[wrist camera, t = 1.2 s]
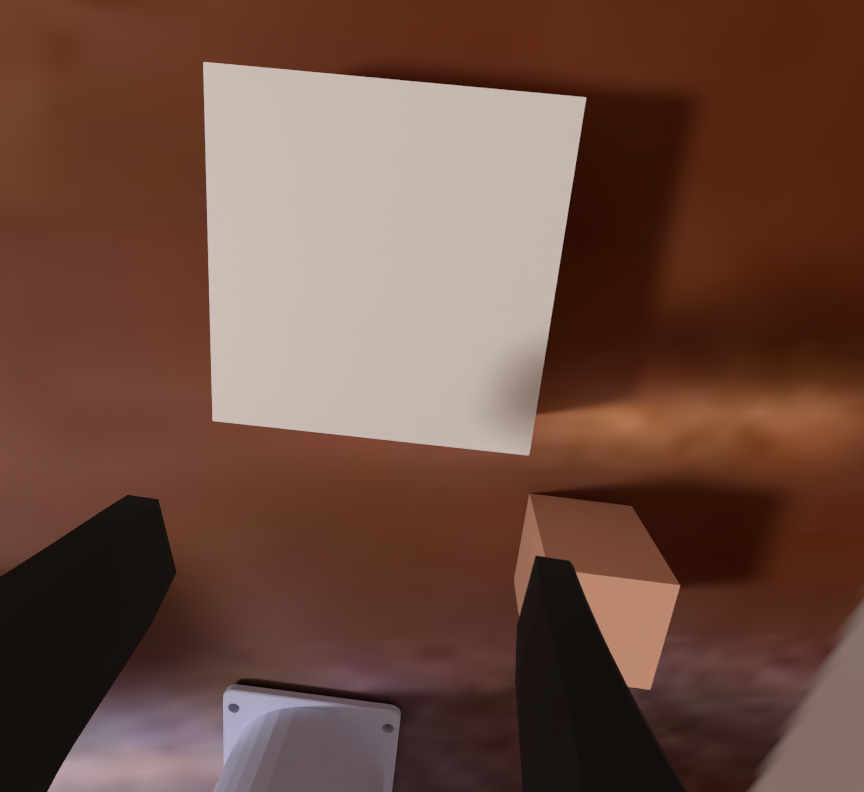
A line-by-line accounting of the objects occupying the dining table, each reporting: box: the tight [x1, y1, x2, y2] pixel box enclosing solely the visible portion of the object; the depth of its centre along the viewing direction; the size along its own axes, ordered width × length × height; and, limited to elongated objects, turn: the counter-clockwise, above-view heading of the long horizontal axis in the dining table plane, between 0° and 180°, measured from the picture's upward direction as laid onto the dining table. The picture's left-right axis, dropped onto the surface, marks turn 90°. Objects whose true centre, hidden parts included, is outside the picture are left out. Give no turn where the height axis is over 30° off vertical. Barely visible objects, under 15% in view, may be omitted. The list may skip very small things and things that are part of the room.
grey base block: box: [203, 62, 586, 455], centre depth 17 cm, size 10×10×4 cm
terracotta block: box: [514, 493, 680, 690], centre depth 19 cm, size 4×4×5 cm
